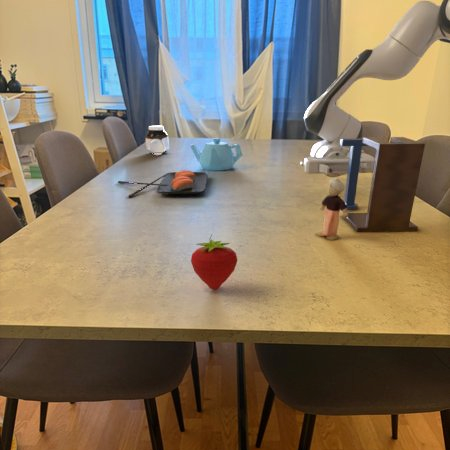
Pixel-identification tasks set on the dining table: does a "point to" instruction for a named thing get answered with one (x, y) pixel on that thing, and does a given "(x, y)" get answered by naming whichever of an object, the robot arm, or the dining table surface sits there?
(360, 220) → the stand
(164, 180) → the sushi plate
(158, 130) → the spread jar
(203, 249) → the strawberry
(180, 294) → the dining table surface
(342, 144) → the peg
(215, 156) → the teapot
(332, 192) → the grandmother figurine
